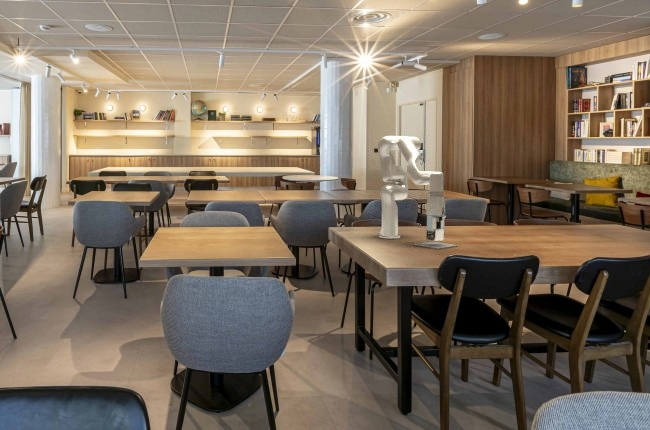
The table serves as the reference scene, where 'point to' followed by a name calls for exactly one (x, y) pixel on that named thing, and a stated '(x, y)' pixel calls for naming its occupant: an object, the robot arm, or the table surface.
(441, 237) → the medicine bottle
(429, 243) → the mat
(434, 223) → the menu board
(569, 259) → the table surface
